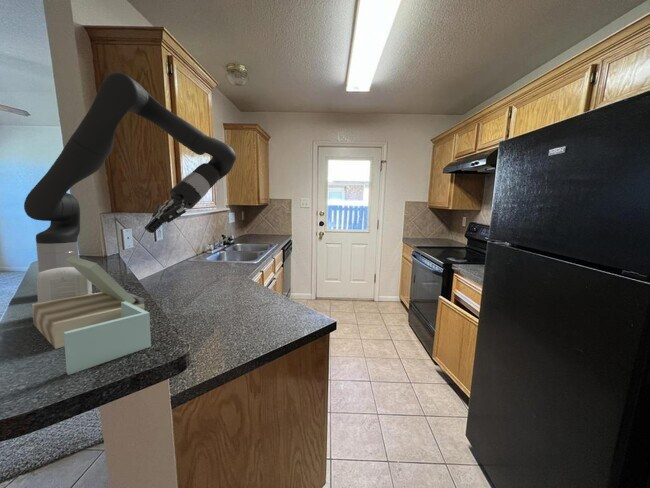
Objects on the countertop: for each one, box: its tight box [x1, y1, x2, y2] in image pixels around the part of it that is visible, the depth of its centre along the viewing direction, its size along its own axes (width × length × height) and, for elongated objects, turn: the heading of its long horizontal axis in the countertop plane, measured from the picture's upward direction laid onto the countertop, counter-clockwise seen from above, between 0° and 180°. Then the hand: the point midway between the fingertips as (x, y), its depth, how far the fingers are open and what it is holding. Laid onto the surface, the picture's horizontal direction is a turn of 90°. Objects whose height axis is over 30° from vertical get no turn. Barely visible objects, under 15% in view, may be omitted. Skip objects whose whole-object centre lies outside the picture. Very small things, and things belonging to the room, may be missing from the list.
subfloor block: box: [31, 291, 146, 350], centre depth 62 cm, size 20×15×6 cm
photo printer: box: [36, 267, 93, 303], centre depth 68 cm, size 10×4×12 cm, turn 123°
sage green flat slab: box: [66, 256, 136, 304], centre depth 63 cm, size 18×12×2 cm
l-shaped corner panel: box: [64, 301, 152, 376], centre depth 50 cm, size 12×12×8 cm
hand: (148, 230), depth 71 cm, fingers closed
